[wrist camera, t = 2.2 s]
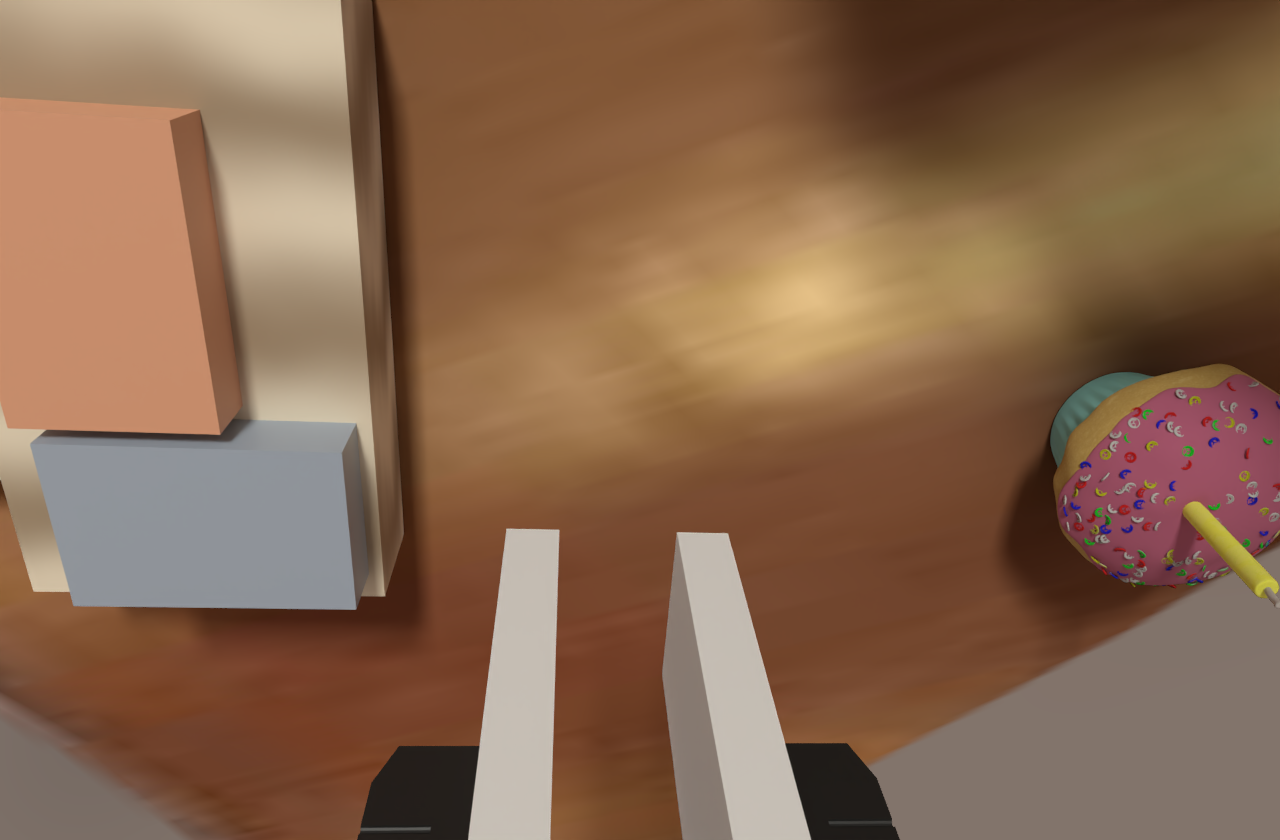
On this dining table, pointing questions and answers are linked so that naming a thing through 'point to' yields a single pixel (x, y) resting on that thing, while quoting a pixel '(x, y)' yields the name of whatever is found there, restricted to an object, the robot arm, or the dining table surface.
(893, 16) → the dining table surface
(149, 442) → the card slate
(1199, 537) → the cupcake
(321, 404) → the beige flat box
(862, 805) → the robot arm
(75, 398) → the orange flat block
